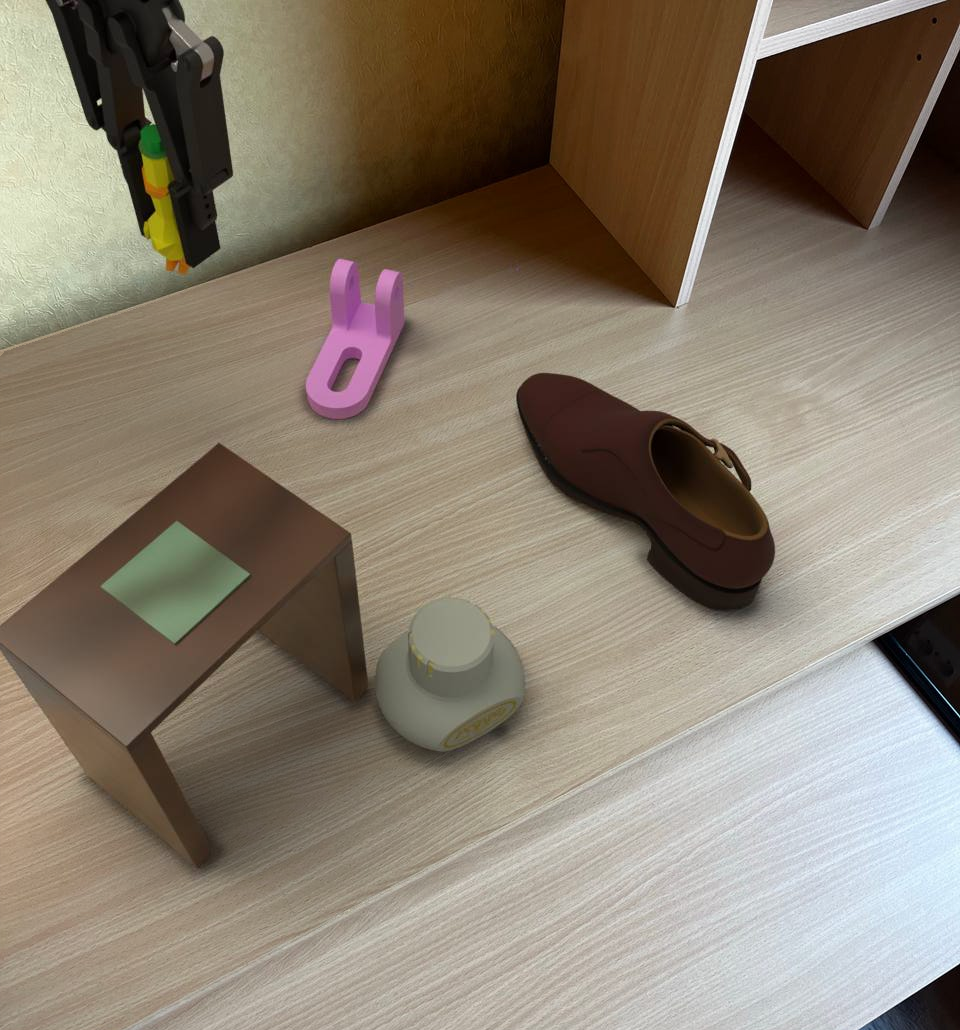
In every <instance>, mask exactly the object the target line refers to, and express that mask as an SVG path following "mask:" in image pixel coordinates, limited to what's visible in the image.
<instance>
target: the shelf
mask: <svg viewBox="0 0 960 1030" xmlns="http://www.w3.org/2000/svg"><path fill="white" fill-rule="evenodd" d="M360 607H361V606H360V598H359V590H358V581H357V571H356V562H355V554H354V546H353V537H352V533H351V532H350V531H349V530H347V529H345V528H344V527H342V526H341V525H340V524H339V523H337V522H336V521H334V520H333V519H331V518H330V517H328V516H326V515H325V514H324V513H322V512H321V511H319V510H318V509H316V508H315V507H313V506H312V505H311V504H310V503H308V502H306V501H305V500H303V499H302V498H300V497H299V496H298V495H296V494H295V493H293V492H292V491H290V490H289V489H287V488H286V487H284V485H282V484H280V483H279V482H277V481H276V480H274V479H273V478H271V476H268V475H267V474H265V473H264V472H263V471H262V470H260V469H259V468H256V466H255V465H252V464H251V463H250V462H248V461H247V460H245V459H244V458H242V457H241V456H239V455H238V454H236V453H235V452H233V450H231V449H229V448H228V447H226V446H225V445H224V444H222V443H220V442H218V443H217V444H215V445H214V446H213V447H212V448H210V450H208V451H207V452H206V453H204V454H203V455H202V456H201V457H199V458H198V460H197V461H195V462H194V463H193V464H192V465H190V466H189V467H188V468H187V469H186V470H184V471H183V472H182V473H180V474H179V476H177V477H176V478H174V479H173V480H172V481H171V482H170V483H169V484H168V485H166V486H165V487H163V488H162V489H161V490H160V491H159V492H158V493H157V494H156V495H155V496H153V497H152V498H150V500H148V501H147V502H146V503H145V504H143V505H142V506H141V507H140V508H138V510H137V511H135V512H133V514H131V516H129V517H128V518H127V519H126V520H124V521H123V522H122V523H121V524H120V525H119V526H117V527H116V528H115V529H113V531H111V532H110V533H109V534H108V535H106V536H105V537H104V538H103V539H102V540H100V541H99V542H98V543H97V544H96V545H94V547H92V548H91V549H90V550H88V551H87V552H86V553H85V554H84V555H82V556H81V557H80V558H79V559H78V560H77V561H76V562H74V563H73V564H72V565H71V566H70V567H68V568H67V569H66V570H65V571H63V572H62V573H61V574H60V575H59V576H57V577H56V578H55V579H54V580H53V581H52V582H50V583H49V584H48V585H47V586H46V587H45V588H43V589H42V590H41V591H40V592H38V593H37V594H36V595H35V596H33V597H32V598H31V599H30V600H29V601H28V602H26V603H25V604H24V605H23V606H22V607H21V608H19V609H18V610H16V612H14V613H13V614H12V615H11V616H10V617H8V618H7V619H6V620H5V621H4V622H2V623H1V624H0V652H1V654H2V655H3V657H4V658H5V660H6V661H7V663H8V664H9V666H10V667H11V668H12V670H13V671H14V673H15V674H16V675H17V677H18V678H19V680H20V681H21V683H22V684H23V686H24V687H25V688H26V690H27V691H28V692H29V694H30V696H31V697H32V698H33V700H34V701H35V703H36V704H37V705H38V707H39V708H40V710H41V711H42V713H43V714H44V715H45V717H46V718H47V720H48V721H49V723H50V724H51V725H52V727H53V729H55V732H56V733H57V734H58V736H59V737H60V739H61V740H62V741H63V743H64V744H65V746H66V747H67V749H68V750H69V751H70V753H71V754H72V756H73V757H74V759H75V760H76V762H77V763H78V765H79V766H80V767H81V769H82V770H83V772H84V773H85V774H86V776H87V777H88V778H89V779H91V780H92V782H94V783H95V784H96V785H97V786H99V787H100V788H101V789H102V790H103V791H105V792H106V793H107V794H108V795H109V796H111V797H112V798H113V799H114V800H115V801H116V802H118V803H119V804H120V805H121V806H122V807H124V808H125V809H126V810H127V811H128V812H129V813H131V814H132V815H133V816H134V817H135V818H136V819H138V820H139V821H140V822H141V823H143V824H144V825H145V826H146V827H147V828H148V829H149V830H151V831H152V832H153V833H154V834H156V835H157V836H158V837H159V838H160V839H161V840H162V841H164V842H165V844H167V845H169V847H171V848H172V849H173V850H174V851H176V852H177V853H178V854H179V855H180V856H181V857H183V858H184V859H185V860H186V861H187V862H188V863H189V864H191V865H192V866H193V867H194V868H195V869H197V868H199V867H200V865H201V864H203V862H205V860H206V859H207V858H209V856H210V855H211V854H212V853H213V847H211V845H210V842H209V841H208V839H207V837H206V834H205V833H204V831H203V829H202V828H201V826H200V823H199V821H198V820H197V817H196V816H195V814H194V812H193V810H192V808H191V806H190V804H189V802H188V801H187V799H186V796H185V795H184V792H183V791H182V789H181V787H180V785H179V783H178V781H177V779H176V778H175V776H174V774H173V772H172V770H171V768H170V766H169V764H168V762H167V760H166V758H165V756H164V754H163V753H162V750H161V749H160V747H159V745H158V742H157V741H156V739H155V737H154V736H153V734H152V732H153V731H155V730H156V728H157V727H159V726H160V724H162V723H163V722H164V721H165V720H166V719H167V718H168V717H169V716H170V715H171V714H172V713H173V712H174V711H175V710H176V709H178V707H179V706H180V705H182V704H183V703H184V702H185V701H186V700H187V699H188V698H189V697H190V696H191V695H192V694H193V693H194V692H195V691H196V690H197V689H198V688H199V687H200V686H201V685H203V683H204V682H206V681H207V680H208V679H209V678H210V677H211V676H212V675H213V674H214V673H215V672H216V671H217V670H218V669H219V668H220V667H221V666H222V665H224V663H226V662H227V661H228V660H229V659H230V658H231V657H232V656H233V655H234V654H235V653H236V652H237V651H238V650H239V649H240V648H241V647H242V646H243V645H245V644H246V642H247V641H249V640H250V639H251V638H252V637H253V636H254V635H255V634H256V633H257V632H260V633H261V634H262V635H264V636H265V637H266V638H267V639H269V640H270V641H271V642H273V643H274V644H275V645H277V646H278V647H279V648H281V649H282V650H283V651H285V652H286V653H288V654H289V655H290V656H292V657H293V658H294V659H295V660H297V661H298V662H300V663H301V664H302V665H303V666H305V667H307V668H308V669H309V670H311V672H313V673H315V674H316V675H317V676H319V678H321V679H322V680H324V681H325V682H327V684H329V685H331V686H332V687H333V688H335V689H336V690H337V691H339V692H340V693H341V694H342V695H344V696H346V697H347V698H348V699H350V700H351V701H352V702H353V703H356V702H357V701H358V700H359V699H360V698H361V697H362V696H363V695H364V693H366V691H367V690H368V689H369V688H370V687H369V679H368V671H367V661H366V651H365V643H364V634H363V625H362V618H361V617H362V616H361V609H360Z"/></svg>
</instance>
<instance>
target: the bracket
mask: <svg viewBox="0 0 960 1030" xmlns="http://www.w3.org/2000/svg"><path fill="white" fill-rule="evenodd" d="M360 281H361V280H360V269H359V265H358V263H357V262H356V261H352V260H348V259H343V258H338V259H337V260H336V261H335V263H334V264H333V267H332V271H331V274H330V279H329V291H328V292H329V301H330V310H331V320H332V326H331V329H330V330H329V333H328V335H327V337H326V340H325V341H324V343H323V345H322V347H321V349H320V351H319V353H318V355H317V357H316V360H315V361H314V364H313V365H312V367H311V369H310V371H309V374H308V375H307V377H306V380H305V391H306V397H307V402H308V405H309V406H310V408H311V409H312V410H313V411H314V412H315V413H316V414H317V415H320V416H322V417H324V418H328V419H332V420H344V419H345V420H346V419H349V418H352V417H354V416H356V415H358V414H360V413H361V412H363V411H364V410H365V409H366V408H367V406H368V405H369V403H370V400H371V399H372V397H373V395H374V392H375V390H376V387H377V385H378V382H379V381H380V378H381V377H382V375H383V372H384V370H385V368H386V365H387V364H388V361H389V359H390V357H391V354H392V352H393V350H394V347H395V346H396V343H397V341H398V339H399V336H400V334H401V332H402V331H403V329H404V326H405V323H406V322H405V295H404V294H405V293H404V275H403V273H402V272H401V271H396V270H391V269H387V268H384V269H383V270H382V271H381V273H380V275H379V277H378V280H377V284H376V288H375V294H374V304H372V303H367V302H364V301H362V296H361V282H360ZM349 359H356V360H359V362H358V364H357V365H356V368H355V370H354V372H353V374H352V377H351V379H350V381H349V383H348V385H347V387H346V388H345V389H344V390H341V391H333V390H332V388H333V386H334V383H335V382H336V379H337V377H338V375H339V373H340V371H341V369H342V367H343V365H344V363H345V362H346V361H347V360H349Z"/></svg>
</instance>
